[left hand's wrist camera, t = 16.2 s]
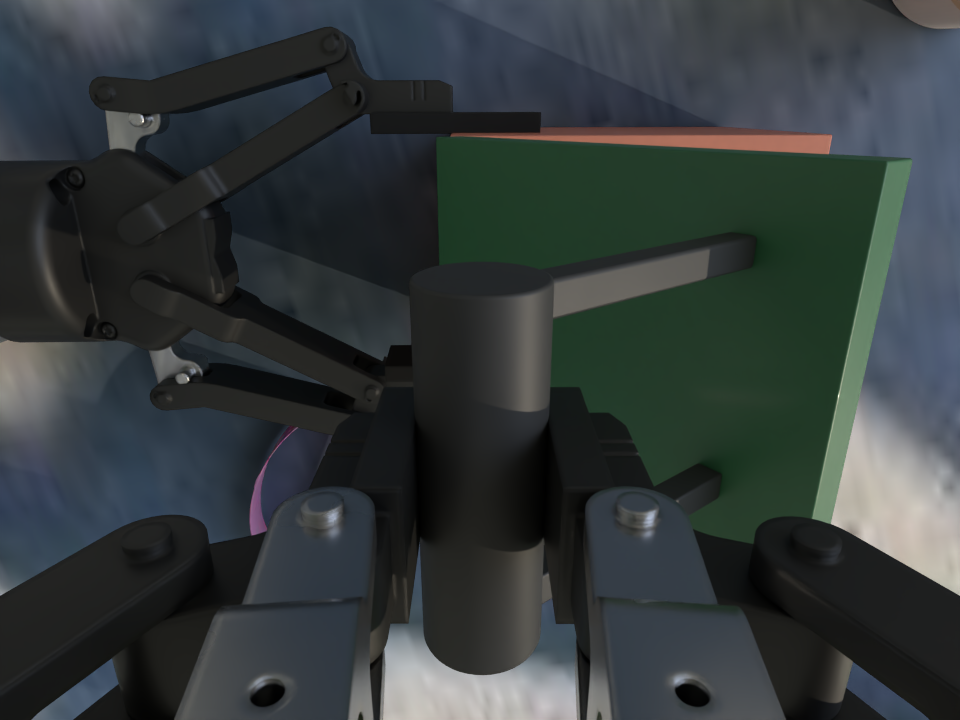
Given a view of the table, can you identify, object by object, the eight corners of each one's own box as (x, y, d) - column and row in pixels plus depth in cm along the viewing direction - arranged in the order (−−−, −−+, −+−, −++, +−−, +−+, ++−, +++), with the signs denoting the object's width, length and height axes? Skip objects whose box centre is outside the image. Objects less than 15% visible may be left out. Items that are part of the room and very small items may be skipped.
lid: (914, 158, 12) (550, 199, 7) (818, 579, 16) (528, 829, 10) (462, 135, 22) (175, 145, 17) (465, 393, 26) (227, 469, 20)
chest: (723, 126, 33) (833, 134, 23) (700, 312, 36) (787, 386, 26) (453, 127, 32) (449, 135, 23) (456, 314, 36) (454, 390, 26)
